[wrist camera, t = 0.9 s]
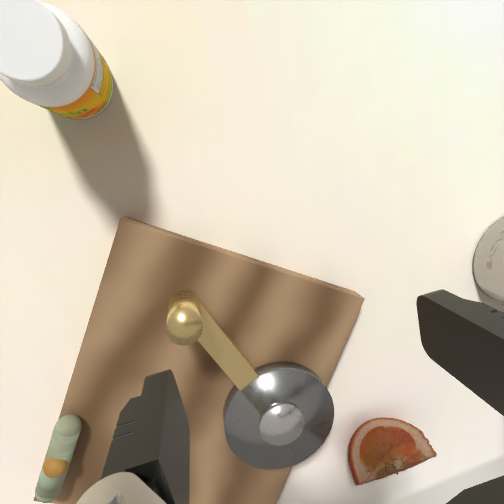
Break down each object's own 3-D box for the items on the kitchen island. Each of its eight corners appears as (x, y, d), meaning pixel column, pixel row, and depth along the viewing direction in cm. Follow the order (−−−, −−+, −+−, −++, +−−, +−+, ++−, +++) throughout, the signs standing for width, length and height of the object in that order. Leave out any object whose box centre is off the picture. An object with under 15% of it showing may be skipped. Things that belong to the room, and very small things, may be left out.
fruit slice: (405, 398, 39) (436, 431, 34) (410, 449, 41) (440, 486, 36) (332, 421, 38) (354, 457, 33) (341, 472, 40) (362, 513, 35)
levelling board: (354, 291, 35) (379, 309, 31) (260, 512, 39) (270, 556, 35) (124, 216, 30) (113, 225, 25) (42, 481, 34) (20, 529, 29)
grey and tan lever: (346, 413, 35) (377, 460, 30) (262, 475, 35) (277, 534, 29) (225, 250, 29) (235, 270, 24) (124, 323, 29) (110, 360, 24)
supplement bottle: (36, 114, 27) (-42, 87, 18) (35, 34, 26) (-48, -40, 17) (113, 125, 28) (77, 104, 19) (115, 49, 27) (80, -13, 18)
